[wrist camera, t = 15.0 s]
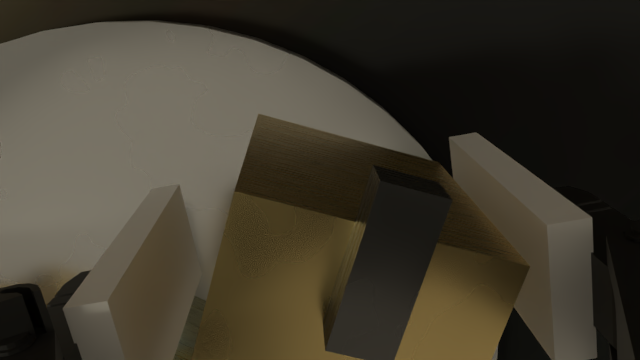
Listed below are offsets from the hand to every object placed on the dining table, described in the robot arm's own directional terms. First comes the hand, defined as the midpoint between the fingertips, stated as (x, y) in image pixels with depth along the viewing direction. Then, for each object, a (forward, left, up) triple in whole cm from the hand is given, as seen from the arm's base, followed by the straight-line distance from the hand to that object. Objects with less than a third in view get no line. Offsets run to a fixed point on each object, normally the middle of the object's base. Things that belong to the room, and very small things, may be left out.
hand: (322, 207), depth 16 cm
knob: (0, 0, -1) cm, 1 cm away
